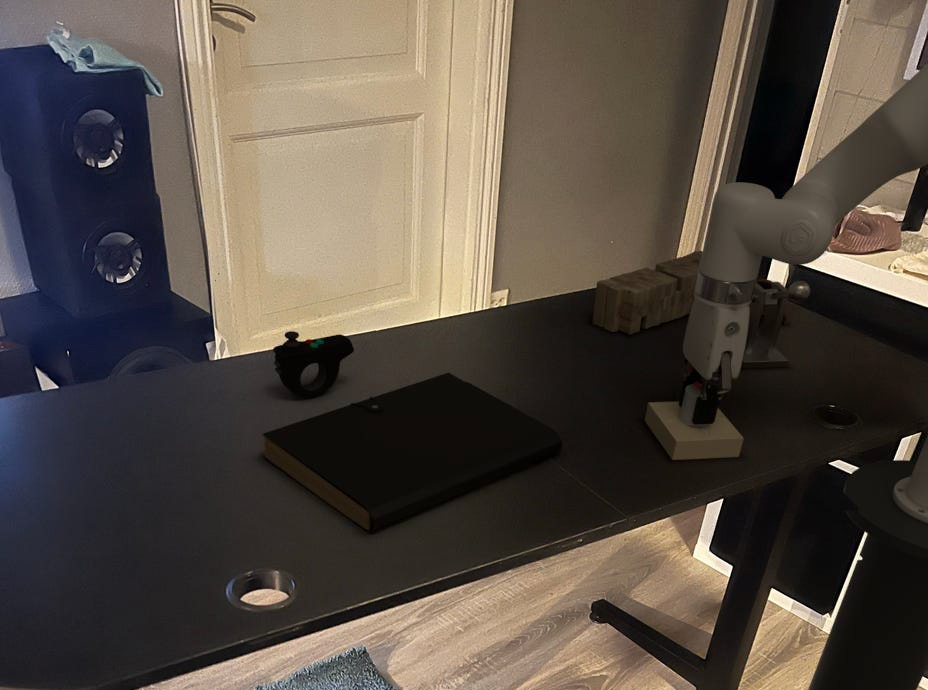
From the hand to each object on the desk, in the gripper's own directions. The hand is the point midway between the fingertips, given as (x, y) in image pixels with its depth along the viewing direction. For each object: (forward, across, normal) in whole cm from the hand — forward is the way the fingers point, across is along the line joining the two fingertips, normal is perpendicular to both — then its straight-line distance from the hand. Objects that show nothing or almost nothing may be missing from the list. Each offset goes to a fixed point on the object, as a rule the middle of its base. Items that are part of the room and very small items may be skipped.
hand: (696, 413), depth 139 cm
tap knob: (+1, 0, 0) cm, 1 cm away
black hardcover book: (+4, -2, +41) cm, 41 cm away
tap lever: (-7, +23, -22) cm, 32 cm away
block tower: (+4, +48, -12) cm, 50 cm away
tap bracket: (+4, +28, -22) cm, 36 cm away
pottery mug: (+4, +44, -30) cm, 53 cm away
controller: (+4, +19, +53) cm, 56 cm away
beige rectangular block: (+4, 0, 0) cm, 4 cm away
